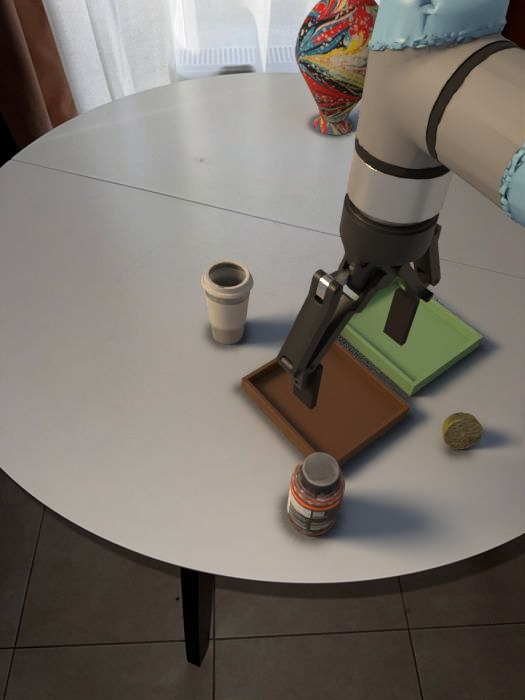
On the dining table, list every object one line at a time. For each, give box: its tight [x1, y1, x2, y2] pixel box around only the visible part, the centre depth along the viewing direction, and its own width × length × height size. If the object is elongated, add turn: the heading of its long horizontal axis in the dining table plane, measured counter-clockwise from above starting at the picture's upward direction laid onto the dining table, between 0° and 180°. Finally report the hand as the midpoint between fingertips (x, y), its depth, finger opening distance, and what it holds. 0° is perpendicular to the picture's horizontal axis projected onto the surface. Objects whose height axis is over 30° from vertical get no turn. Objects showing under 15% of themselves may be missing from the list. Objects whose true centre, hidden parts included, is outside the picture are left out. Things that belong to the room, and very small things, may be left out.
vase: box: [294, 0, 380, 136], centre depth 115 cm, size 19×19×30 cm
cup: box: [200, 258, 255, 345], centre depth 82 cm, size 7×7×12 cm
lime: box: [441, 411, 484, 450], centre depth 75 cm, size 4×5×5 cm
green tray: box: [339, 278, 484, 397], centre depth 87 cm, size 17×15×2 cm
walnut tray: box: [240, 339, 412, 468], centre depth 79 cm, size 17×15×2 cm
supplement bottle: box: [286, 452, 346, 536], centre depth 65 cm, size 6×6×11 cm
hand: (351, 367), depth 62 cm, fingers open, 13 cm apart
